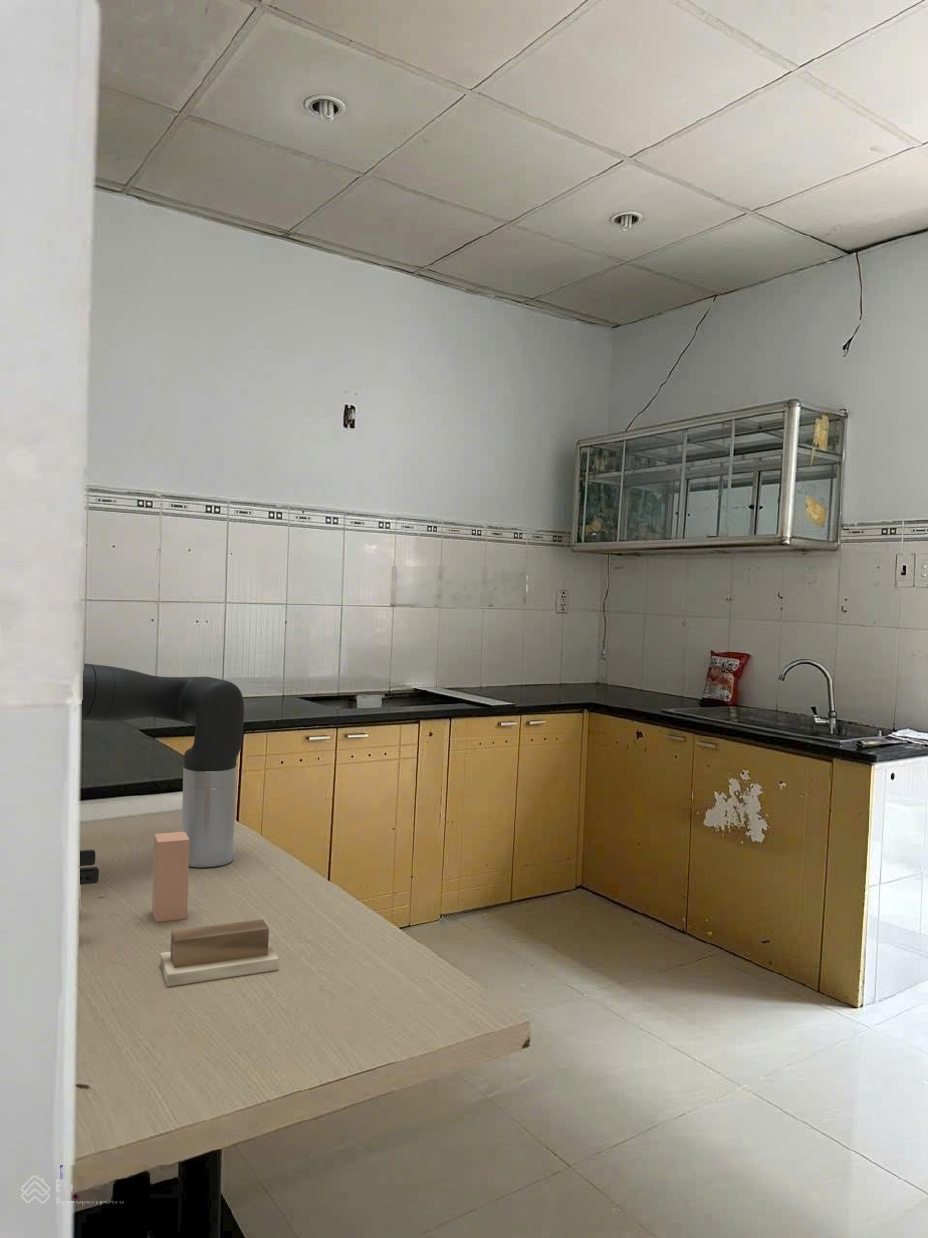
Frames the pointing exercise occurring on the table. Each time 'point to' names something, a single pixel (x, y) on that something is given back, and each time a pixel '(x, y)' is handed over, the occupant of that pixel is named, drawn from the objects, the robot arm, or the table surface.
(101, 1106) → the table surface
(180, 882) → the block
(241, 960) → the stand
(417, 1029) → the table surface
